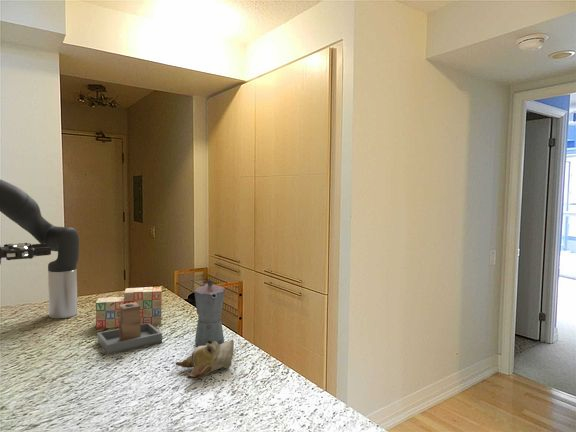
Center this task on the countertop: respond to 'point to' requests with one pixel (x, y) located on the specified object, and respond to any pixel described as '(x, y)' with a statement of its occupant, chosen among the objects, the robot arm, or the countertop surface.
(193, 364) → the ceramic sculpture
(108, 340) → the charcoal tray
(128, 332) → the walnut block
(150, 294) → the stack of blocks
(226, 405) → the countertop surface
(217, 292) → the moka pot
